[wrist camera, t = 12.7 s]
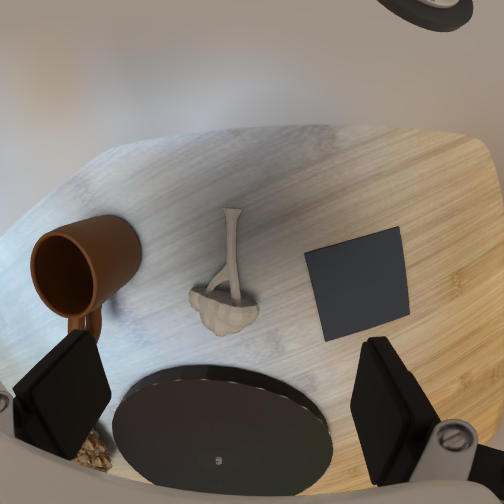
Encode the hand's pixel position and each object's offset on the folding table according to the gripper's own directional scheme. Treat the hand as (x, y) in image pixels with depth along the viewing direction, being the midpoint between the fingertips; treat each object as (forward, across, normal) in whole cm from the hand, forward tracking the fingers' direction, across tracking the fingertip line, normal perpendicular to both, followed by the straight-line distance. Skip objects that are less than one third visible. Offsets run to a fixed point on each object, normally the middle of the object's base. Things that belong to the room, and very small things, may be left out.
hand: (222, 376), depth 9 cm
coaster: (+20, -11, +5) cm, 23 cm away
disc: (+20, +5, +29) cm, 35 cm away
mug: (+20, +15, +3) cm, 25 cm away
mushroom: (+20, +2, +3) cm, 20 cm away
